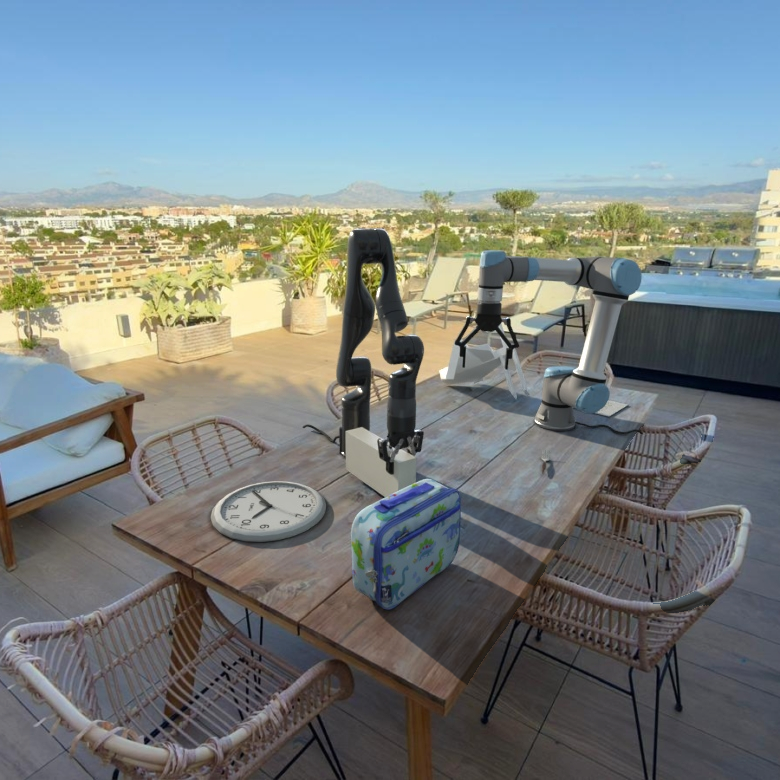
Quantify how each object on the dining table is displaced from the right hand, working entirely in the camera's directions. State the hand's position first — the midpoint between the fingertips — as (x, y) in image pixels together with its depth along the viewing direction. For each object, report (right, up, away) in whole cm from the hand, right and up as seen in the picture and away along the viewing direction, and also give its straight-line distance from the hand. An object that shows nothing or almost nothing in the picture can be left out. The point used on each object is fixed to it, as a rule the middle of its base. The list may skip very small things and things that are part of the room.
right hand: (484, 367), depth 169 cm
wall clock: (-63, -39, -29) cm, 80 cm away
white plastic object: (+11, -8, +74) cm, 75 cm away
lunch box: (-27, -49, -56) cm, 79 cm away
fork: (+19, -32, 0) cm, 37 cm away
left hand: (-28, -29, -29) cm, 49 cm away
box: (-34, -34, -18) cm, 52 cm away
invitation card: (+61, -15, +57) cm, 85 cm away
